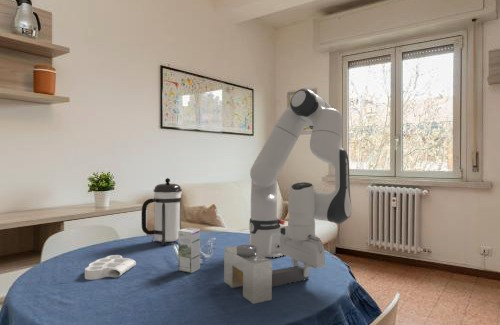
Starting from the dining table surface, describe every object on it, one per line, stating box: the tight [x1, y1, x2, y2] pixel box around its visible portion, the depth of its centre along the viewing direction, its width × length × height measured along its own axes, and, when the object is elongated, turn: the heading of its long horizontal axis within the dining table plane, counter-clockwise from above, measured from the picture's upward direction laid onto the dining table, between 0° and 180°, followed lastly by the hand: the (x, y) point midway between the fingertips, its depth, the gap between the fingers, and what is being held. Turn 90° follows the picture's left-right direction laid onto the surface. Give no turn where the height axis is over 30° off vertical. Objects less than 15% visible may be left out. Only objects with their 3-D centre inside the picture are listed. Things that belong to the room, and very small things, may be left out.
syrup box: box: [177, 227, 201, 274], centre depth 123 cm, size 6×6×14 cm
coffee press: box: [141, 177, 183, 247], centre depth 161 cm, size 17×16×30 cm
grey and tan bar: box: [272, 264, 310, 288], centre depth 110 cm, size 21×5×5 cm, turn 119°
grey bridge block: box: [223, 244, 273, 305], centre depth 105 cm, size 6×19×13 cm, turn 29°
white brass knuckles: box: [84, 254, 137, 281], centre depth 122 cm, size 3×18×15 cm
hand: (301, 274), depth 115 cm, fingers closed on grey and tan bar, 3 cm apart
